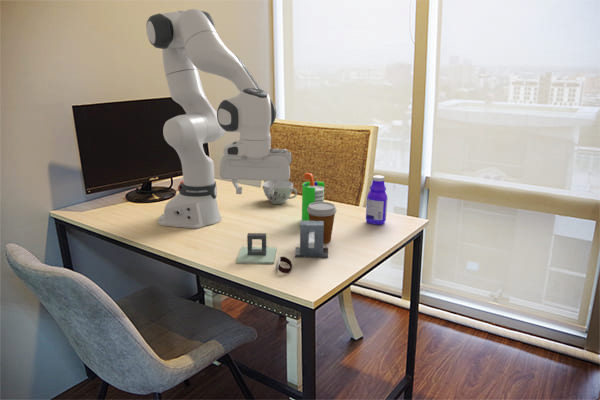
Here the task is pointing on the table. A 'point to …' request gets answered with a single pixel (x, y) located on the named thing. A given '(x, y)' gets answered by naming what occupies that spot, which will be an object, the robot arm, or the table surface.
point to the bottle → (377, 201)
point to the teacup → (279, 191)
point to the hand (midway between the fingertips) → (255, 194)
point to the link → (257, 251)
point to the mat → (257, 256)
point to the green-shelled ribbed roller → (311, 194)
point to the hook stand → (311, 240)
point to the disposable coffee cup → (323, 217)
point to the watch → (281, 269)
